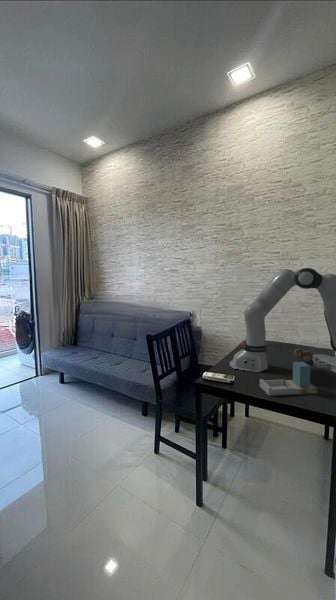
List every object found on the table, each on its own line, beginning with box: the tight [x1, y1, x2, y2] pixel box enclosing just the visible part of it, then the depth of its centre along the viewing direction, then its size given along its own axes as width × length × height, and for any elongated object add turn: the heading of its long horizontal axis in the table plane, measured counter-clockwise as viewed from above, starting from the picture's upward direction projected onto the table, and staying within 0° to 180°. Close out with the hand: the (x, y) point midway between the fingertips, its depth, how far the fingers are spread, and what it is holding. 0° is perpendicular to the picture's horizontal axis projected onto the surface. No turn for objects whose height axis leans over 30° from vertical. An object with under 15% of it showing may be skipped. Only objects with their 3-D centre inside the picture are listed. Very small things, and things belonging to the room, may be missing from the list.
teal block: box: [292, 361, 311, 387], centre depth 122 cm, size 5×6×10 cm
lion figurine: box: [294, 348, 313, 362], centre depth 160 cm, size 15×5×9 cm, turn 115°
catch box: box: [259, 378, 296, 397], centre depth 122 cm, size 12×10×4 cm
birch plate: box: [283, 379, 318, 395], centre depth 123 cm, size 11×10×2 cm
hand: (315, 364), depth 122 cm, fingers closed
